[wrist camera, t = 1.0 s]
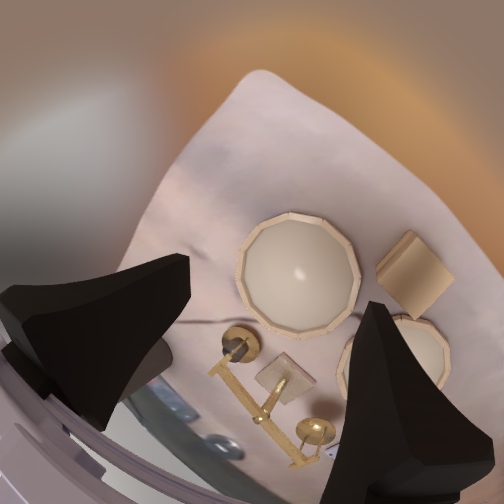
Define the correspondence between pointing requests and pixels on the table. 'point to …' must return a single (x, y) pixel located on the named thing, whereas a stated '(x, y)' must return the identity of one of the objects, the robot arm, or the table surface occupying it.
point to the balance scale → (273, 393)
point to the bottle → (149, 368)
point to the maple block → (413, 275)
